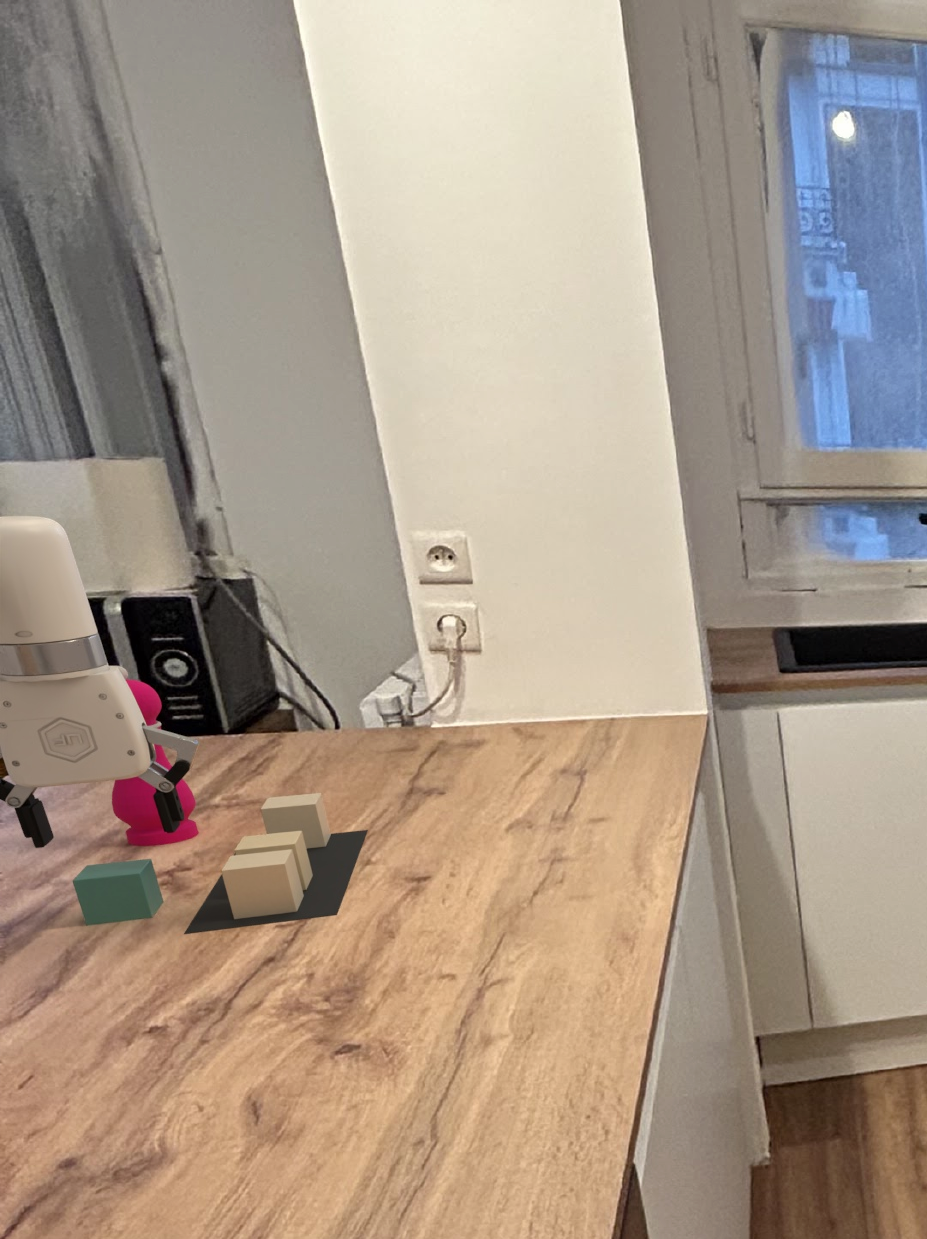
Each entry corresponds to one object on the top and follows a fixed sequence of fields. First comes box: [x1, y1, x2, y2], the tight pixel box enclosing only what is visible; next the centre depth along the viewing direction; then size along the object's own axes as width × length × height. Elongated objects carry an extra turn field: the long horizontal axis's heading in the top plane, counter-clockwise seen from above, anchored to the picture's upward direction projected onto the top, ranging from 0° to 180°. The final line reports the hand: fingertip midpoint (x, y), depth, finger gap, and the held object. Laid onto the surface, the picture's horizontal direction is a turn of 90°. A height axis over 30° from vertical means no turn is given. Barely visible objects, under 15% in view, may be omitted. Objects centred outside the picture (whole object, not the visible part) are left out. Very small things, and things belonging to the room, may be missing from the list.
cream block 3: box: [220, 849, 304, 919], centre depth 133 cm, size 5×5×5 cm
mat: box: [183, 829, 369, 935], centre depth 142 cm, size 12×31×1 cm, turn 28°
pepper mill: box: [111, 665, 199, 847], centre depth 150 cm, size 7×7×20 cm
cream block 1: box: [260, 792, 332, 849], centre depth 152 cm, size 5×5×5 cm
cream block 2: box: [233, 831, 313, 890], centre depth 138 cm, size 5×5×5 cm
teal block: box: [72, 858, 165, 926], centre depth 131 cm, size 5×5×5 cm
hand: (110, 836), depth 129 cm, fingers open, 9 cm apart
